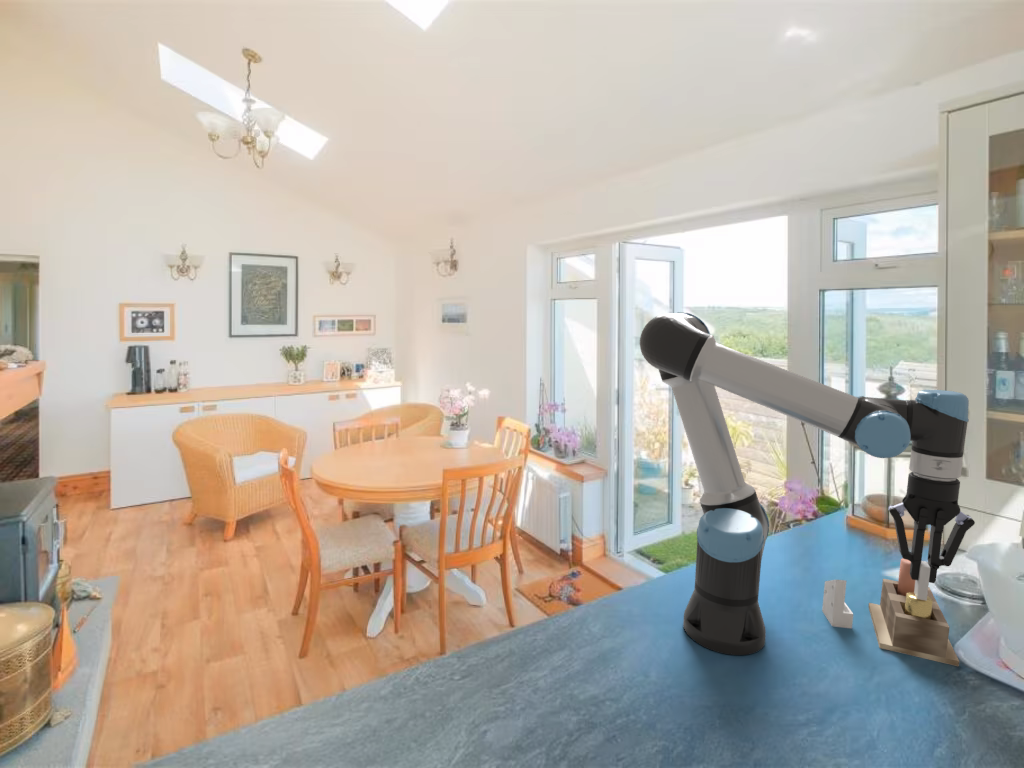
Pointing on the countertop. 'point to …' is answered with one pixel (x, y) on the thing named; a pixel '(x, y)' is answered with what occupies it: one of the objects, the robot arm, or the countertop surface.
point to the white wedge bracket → (836, 604)
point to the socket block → (911, 628)
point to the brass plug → (918, 606)
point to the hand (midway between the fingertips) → (920, 596)
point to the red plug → (905, 578)
